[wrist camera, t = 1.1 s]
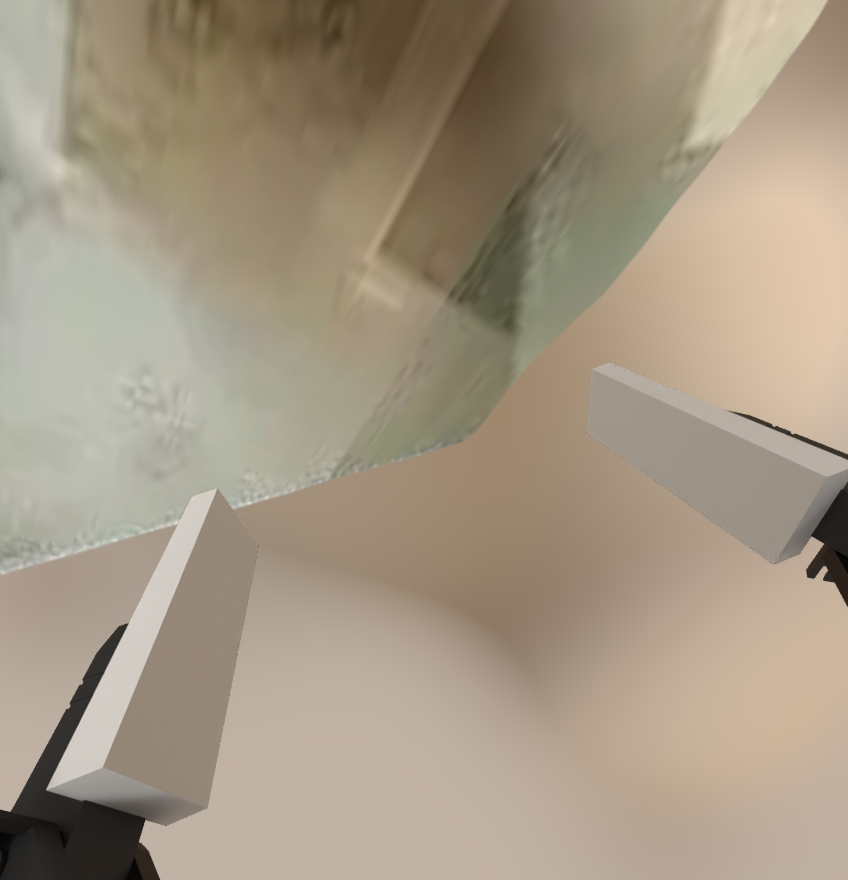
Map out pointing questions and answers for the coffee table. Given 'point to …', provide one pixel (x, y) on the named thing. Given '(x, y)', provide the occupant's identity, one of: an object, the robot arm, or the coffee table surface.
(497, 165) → the coffee table surface
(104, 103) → the coffee table surface
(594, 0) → the coffee table surface
